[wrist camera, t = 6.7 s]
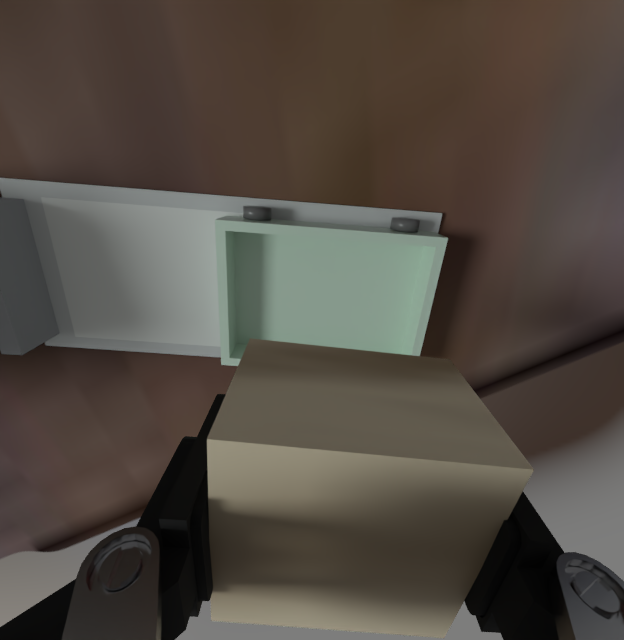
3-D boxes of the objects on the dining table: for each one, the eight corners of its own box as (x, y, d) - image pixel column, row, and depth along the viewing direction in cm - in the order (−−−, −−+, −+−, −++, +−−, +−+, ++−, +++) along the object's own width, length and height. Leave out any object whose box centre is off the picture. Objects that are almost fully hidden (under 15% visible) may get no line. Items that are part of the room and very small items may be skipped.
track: (48, 343, 26) (6, 368, 22) (0, 177, 21) (-63, 176, 17) (406, 368, 26) (420, 396, 23) (440, 213, 22) (465, 218, 18)
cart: (231, 354, 26) (221, 373, 23) (226, 203, 21) (214, 206, 18) (402, 366, 26) (412, 386, 23) (434, 220, 21) (451, 224, 19)
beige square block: (249, 338, 9) (206, 439, 6) (449, 359, 10) (533, 469, 6) (244, 482, 12) (210, 620, 8) (404, 497, 12) (444, 638, 8)
